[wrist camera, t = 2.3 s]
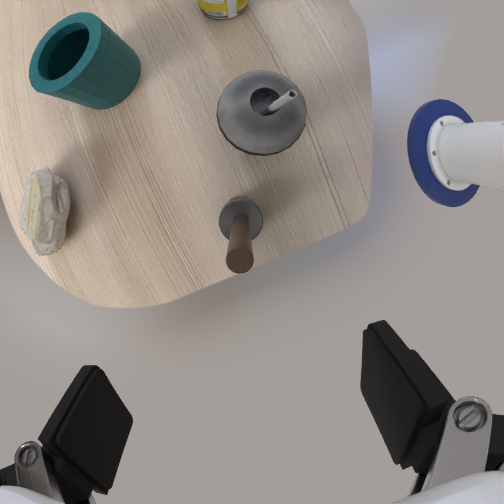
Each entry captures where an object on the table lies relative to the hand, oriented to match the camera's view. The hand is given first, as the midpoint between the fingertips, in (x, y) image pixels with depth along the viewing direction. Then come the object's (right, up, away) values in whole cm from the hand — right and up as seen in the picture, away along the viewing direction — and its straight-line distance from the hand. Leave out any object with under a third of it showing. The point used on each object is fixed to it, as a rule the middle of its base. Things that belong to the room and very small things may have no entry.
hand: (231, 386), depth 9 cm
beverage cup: (+1, +19, +23) cm, 30 cm away
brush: (-1, +9, +26) cm, 27 cm away
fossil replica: (-28, +11, +24) cm, 38 cm away
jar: (-19, +28, +19) cm, 39 cm away
